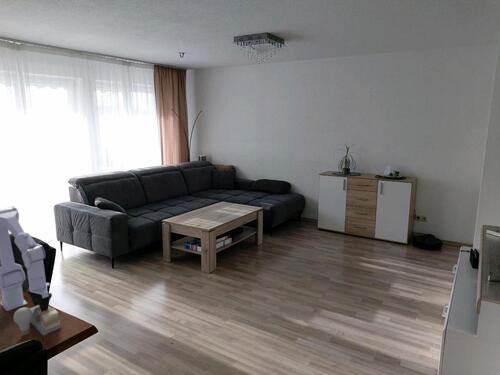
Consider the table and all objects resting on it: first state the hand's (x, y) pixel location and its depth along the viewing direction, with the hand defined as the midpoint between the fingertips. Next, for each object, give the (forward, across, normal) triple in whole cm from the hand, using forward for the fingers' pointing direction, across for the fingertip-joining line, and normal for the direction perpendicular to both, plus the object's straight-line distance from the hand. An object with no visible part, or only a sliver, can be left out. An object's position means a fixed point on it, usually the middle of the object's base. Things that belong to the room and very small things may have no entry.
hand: (41, 308), depth 144 cm
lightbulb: (+7, -4, +7) cm, 11 cm away
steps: (+6, -2, 0) cm, 7 cm away
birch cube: (+1, -6, 0) cm, 6 cm away
